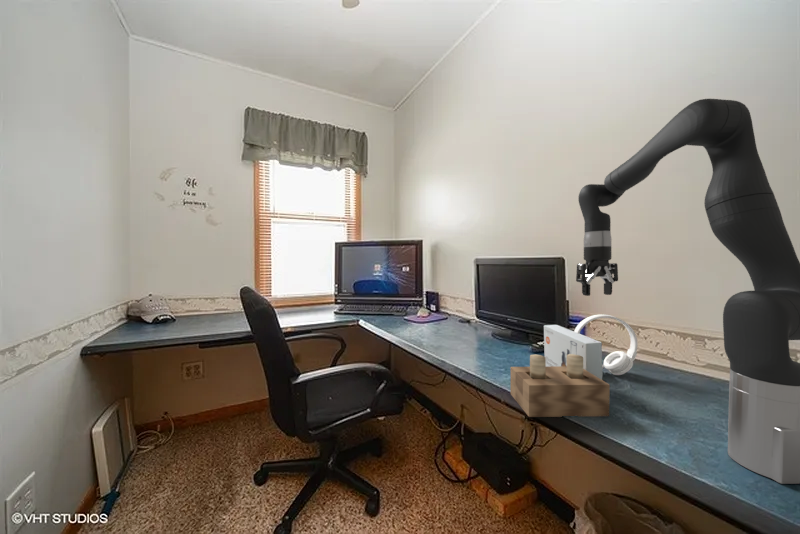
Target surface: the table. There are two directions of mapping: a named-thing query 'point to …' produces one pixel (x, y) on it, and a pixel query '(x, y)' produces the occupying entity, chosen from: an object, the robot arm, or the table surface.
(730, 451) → the robot arm
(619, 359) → the headphones
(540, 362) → the dowel
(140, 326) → the table surface
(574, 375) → the dowel
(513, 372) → the socket board
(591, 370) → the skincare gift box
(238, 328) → the table surface
